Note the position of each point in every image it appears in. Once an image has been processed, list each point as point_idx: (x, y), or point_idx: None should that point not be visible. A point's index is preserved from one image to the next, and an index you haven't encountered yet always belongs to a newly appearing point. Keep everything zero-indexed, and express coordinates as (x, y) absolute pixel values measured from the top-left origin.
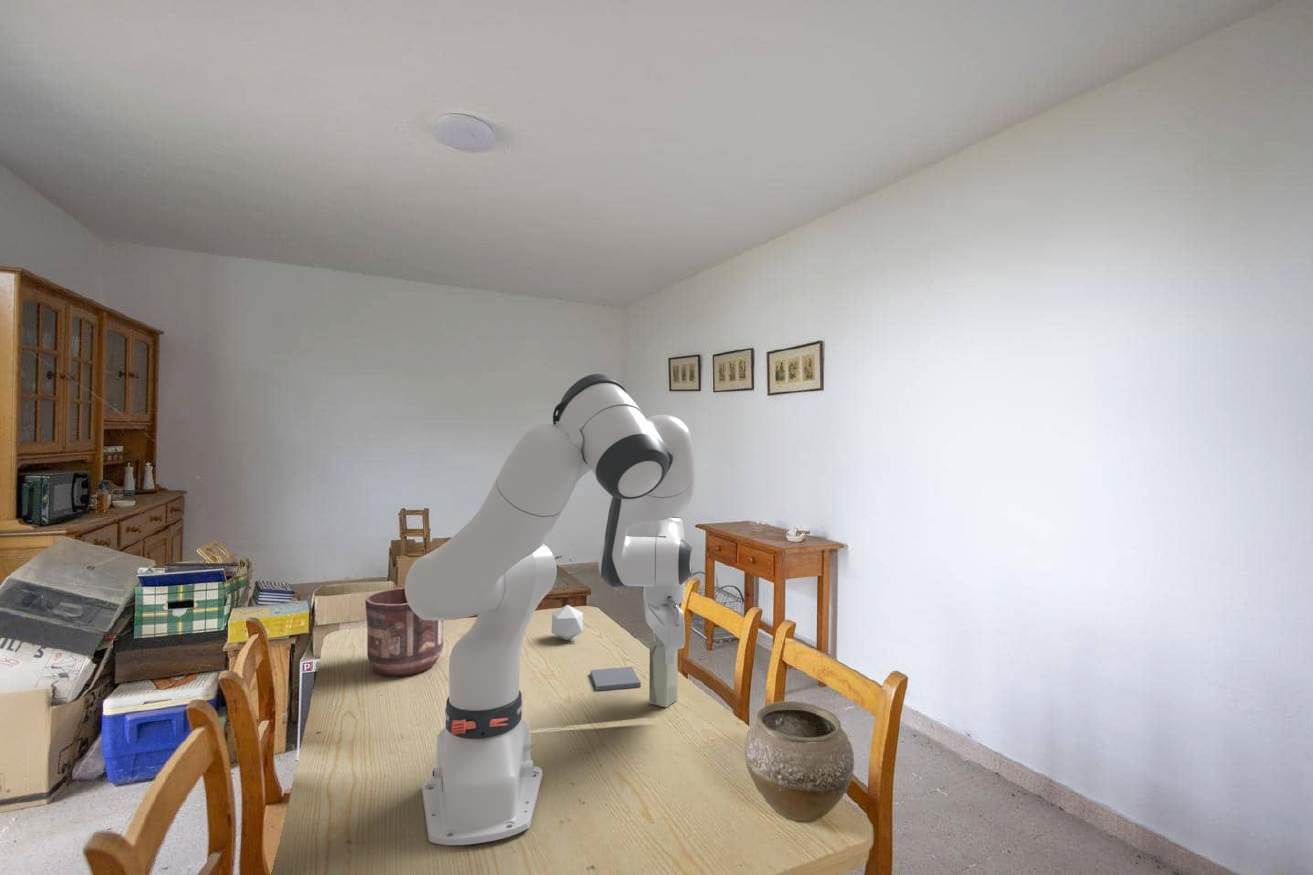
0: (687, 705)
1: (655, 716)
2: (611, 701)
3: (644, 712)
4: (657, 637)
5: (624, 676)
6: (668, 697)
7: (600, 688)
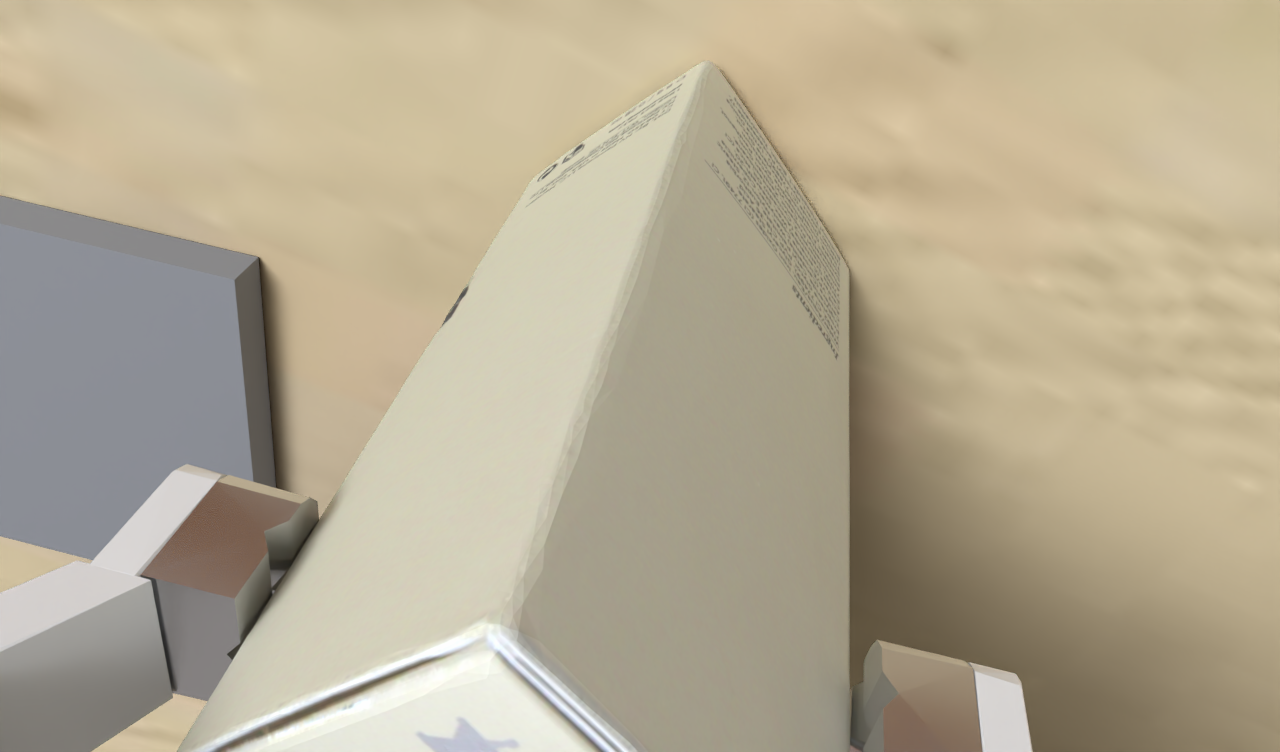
0: (909, 14)
1: (959, 432)
2: None
3: None
4: (57, 722)
5: (65, 346)
6: (832, 289)
7: None
